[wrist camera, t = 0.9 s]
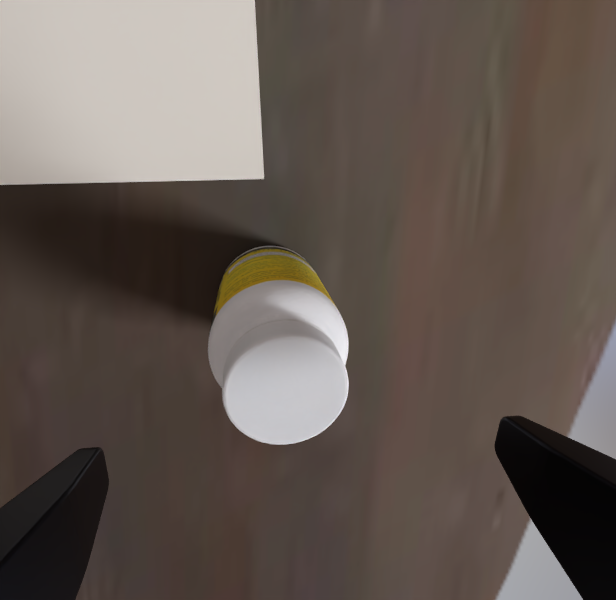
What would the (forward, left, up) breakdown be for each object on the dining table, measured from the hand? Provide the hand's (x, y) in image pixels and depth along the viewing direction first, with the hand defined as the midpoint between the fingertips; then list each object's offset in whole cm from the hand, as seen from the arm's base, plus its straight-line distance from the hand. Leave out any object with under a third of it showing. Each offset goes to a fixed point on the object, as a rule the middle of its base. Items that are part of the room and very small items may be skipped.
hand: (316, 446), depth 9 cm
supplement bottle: (0, -1, -13) cm, 13 cm away
